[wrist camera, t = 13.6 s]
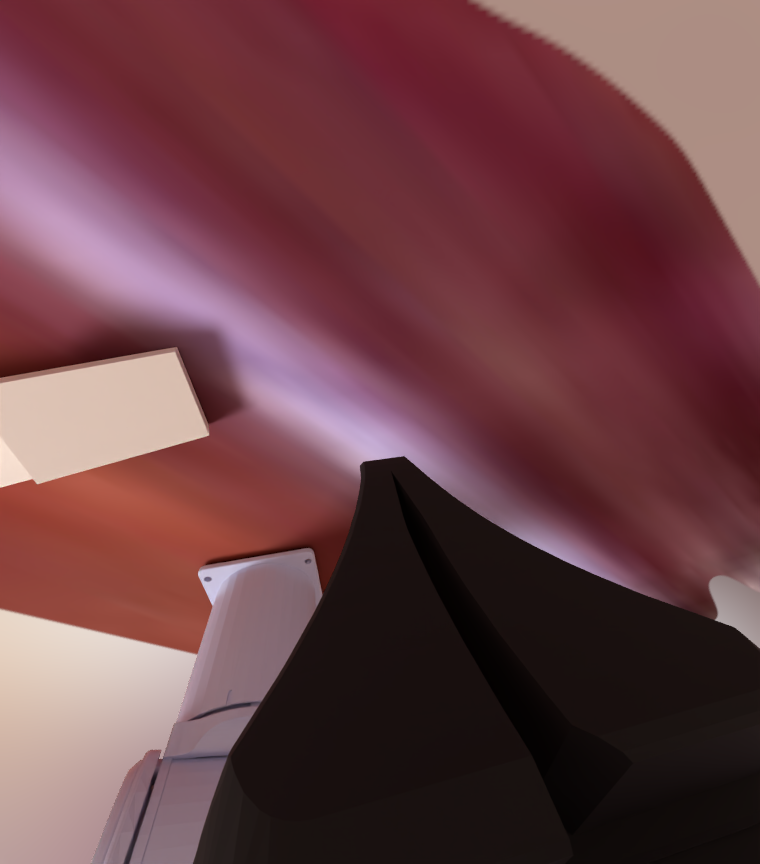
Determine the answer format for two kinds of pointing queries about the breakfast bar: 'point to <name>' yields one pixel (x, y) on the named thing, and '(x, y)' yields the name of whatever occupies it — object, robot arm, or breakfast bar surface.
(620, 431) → the breakfast bar surface
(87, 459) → the domino
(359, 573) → the robot arm
